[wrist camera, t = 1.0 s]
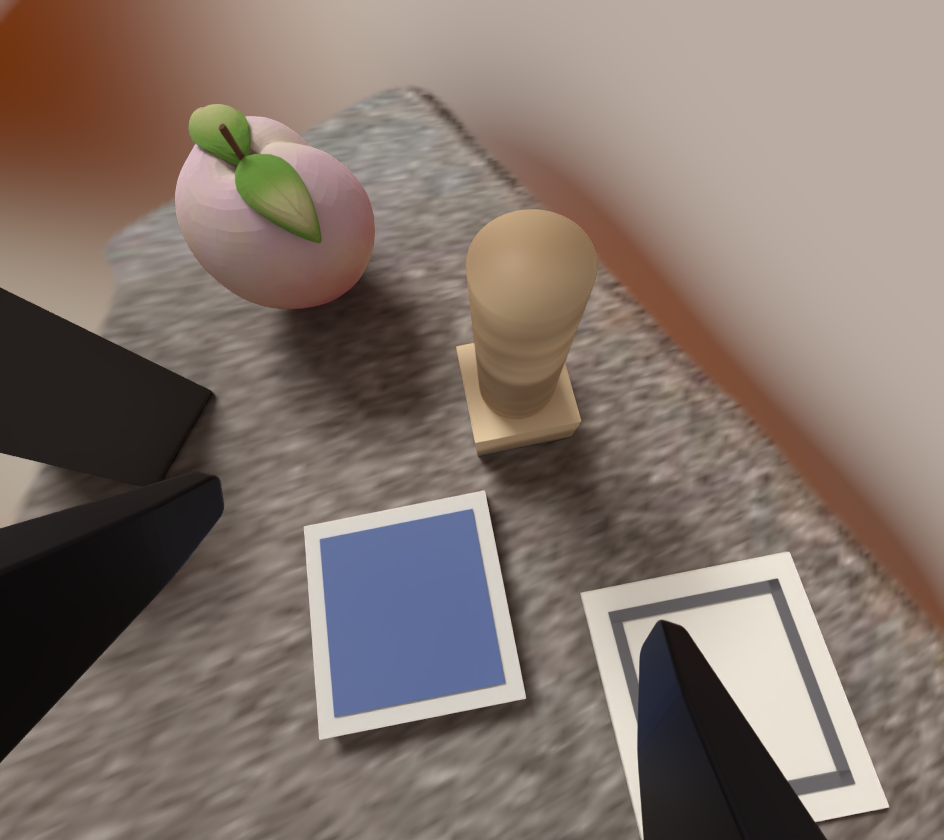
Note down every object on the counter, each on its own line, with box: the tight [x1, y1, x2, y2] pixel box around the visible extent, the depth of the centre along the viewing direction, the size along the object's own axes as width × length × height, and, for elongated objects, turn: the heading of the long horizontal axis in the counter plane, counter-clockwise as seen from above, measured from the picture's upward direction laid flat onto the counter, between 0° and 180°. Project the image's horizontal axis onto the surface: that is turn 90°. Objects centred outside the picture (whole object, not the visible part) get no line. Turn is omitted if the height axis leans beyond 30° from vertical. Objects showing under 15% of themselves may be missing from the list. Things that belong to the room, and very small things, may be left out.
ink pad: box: [304, 490, 526, 740], centre depth 20 cm, size 9×9×1 cm
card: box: [580, 552, 889, 840], centre depth 19 cm, size 10×10×1 cm
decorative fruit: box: [175, 104, 375, 309], centre depth 21 cm, size 9×8×10 cm
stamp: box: [456, 209, 598, 456], centre depth 17 cm, size 5×5×12 cm
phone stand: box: [0, 288, 212, 487], centre depth 19 cm, size 9×6×12 cm, turn 68°
